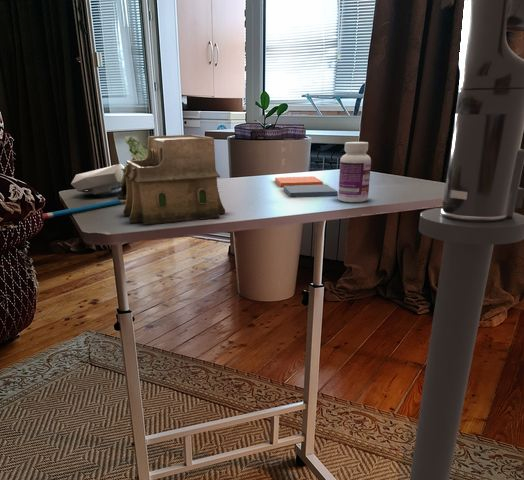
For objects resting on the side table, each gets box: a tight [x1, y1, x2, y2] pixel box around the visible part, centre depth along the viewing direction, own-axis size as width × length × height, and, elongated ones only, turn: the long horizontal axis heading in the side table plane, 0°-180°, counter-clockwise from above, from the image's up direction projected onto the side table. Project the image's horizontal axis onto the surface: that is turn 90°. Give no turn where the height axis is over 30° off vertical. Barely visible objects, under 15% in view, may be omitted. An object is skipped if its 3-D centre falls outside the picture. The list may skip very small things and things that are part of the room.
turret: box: [70, 163, 126, 196], centre depth 103 cm, size 10×20×5 cm, turn 169°
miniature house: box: [122, 134, 226, 226], centre depth 79 cm, size 15×14×11 cm
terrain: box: [124, 135, 148, 160], centre depth 91 cm, size 15×9×2 cm
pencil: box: [41, 199, 126, 220], centre depth 85 cm, size 1×17×1 cm, turn 144°
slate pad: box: [283, 184, 339, 198], centre depth 98 cm, size 9×9×1 cm
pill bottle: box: [337, 141, 372, 203], centre depth 88 cm, size 5×5×10 cm
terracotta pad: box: [274, 176, 324, 188], centre depth 110 cm, size 9×9×1 cm
